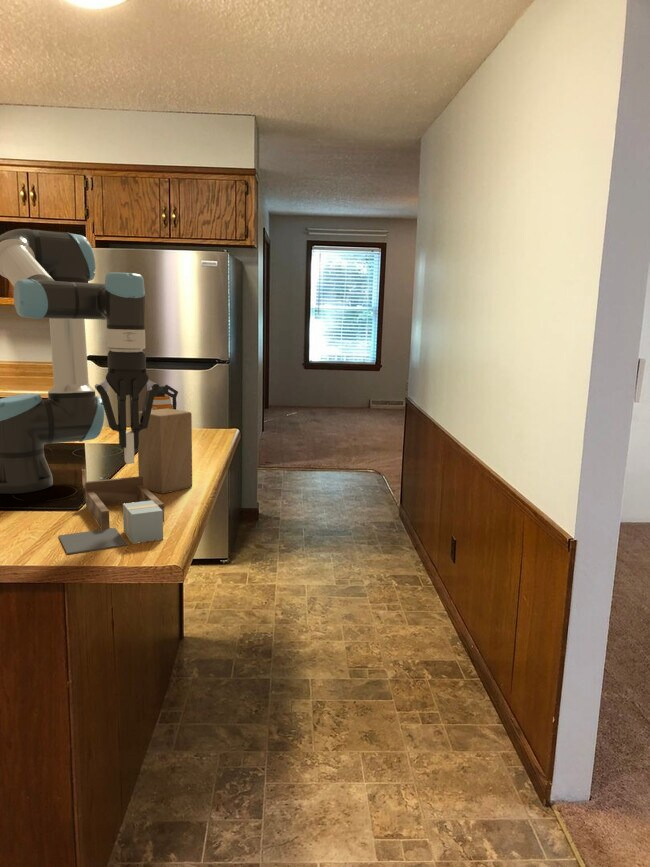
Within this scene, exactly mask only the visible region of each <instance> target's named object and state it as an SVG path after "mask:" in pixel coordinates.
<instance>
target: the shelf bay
mask: <svg viewBox="0 0 650 867" xmlns="http://www.w3.org/2000/svg"><path fill="white" fill-rule="evenodd" d="M84 490H85V507H86V509H87V510H88V512H89V513H90V515H91V516H92V517H93V519H94V520H95V522H96V523H97V524H98V526H99V528H100V527H101V528H100V530H102V529H109V528H111V527H110V526H111V525H110V509H108V507H109V506H116V505H117V504H118V505H123V503H132V502H142V501H151V500H152V501H153V502H154V503H155V504H157V505H158V506H159V508H161V509H162V510H163V523H164V522H165V503H164V502H162V501H161V500H160V499H159V498H158V497H157V496H156V495H154V494H153V492H152V491H151V490H148V489H147V488H146V487H145V486H143V477H142V476H139V475H138V476H130V477H120V478H119V477H118V478H111V479H109V478H108V479H100V480H91V481H90V480H89V481H85V482H84Z"/></svg>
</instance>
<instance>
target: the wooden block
mask: <svg viewBox="0 0 650 867" xmlns="http://www.w3.org/2000/svg"><path fill="white" fill-rule="evenodd" d="M141 415H142V410H141V411H139V423H140V419H141ZM192 418H193V416H192V412H191V411H184V410H180V409H176V410H175V409H173V408H172V409H169V408H167V409H157V410H151V414H150V418H149V423H148V427H147V428H146V429H142V430H140V431H139V445H138V447H137V461H138V463H137V466H138V476H142V477H143V486H145V487H146V488H147V489H148V490H149V491H150V492H154V493H157V494H161V495H163V494H166V493H172V492H175V491H179V490H184V489H190V488H192V487H193V439H192V438H193V436H192V435H193V433H192V431H193V429H192V428H193V427H192V426H193V424H192V423H193V421H192Z"/></svg>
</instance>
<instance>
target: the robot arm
mask: <svg viewBox="0 0 650 867" xmlns="http://www.w3.org/2000/svg"><path fill="white" fill-rule="evenodd" d="M0 276H2V277H3V278H5V279H7V280H8V282H10V284H11V286H12V287H13V305H14V308H15V312H16V314H17V315H18V316H20V317H22V318H29V319H30V318H31V319H35V320H39V319H41V320H42V319H49V332H50V334H49V335H50V345H51V346H50V347H51V362H52V378H53V386H52V387H51V388H50V389H49V390H48V391H47V392H48V393H47V397H48V398H47V399H46V398H45V399H43V398H42V396H41V395H40V394H39V393H28V394H26V393H25V394H18V395H10V396H5V397H1V398H0V494H12V495H13V494H24V493H33V492H37V491H42V490H45V489H48V488H50V487H52V486H53V484H54V480H53V474H52V471H51V469H50V467H49V464H48V461H47V460H46V457H45V449H44V448H45V447H44V446H45V445H50V444H63V443H73V442H79V443H82V442H84V441H85V442H86V441H92V440H95V439H97V438H98V437H99V436H100V434H101V432H102V430H103V427H104V420H105V416H106V418H107V419H106V420H107V422H108V423H107V424H108V427H109V428H110V429H111V430H112V431H114V432H118V444H119V446H120V448H121V449H123V452H124V462H125V464H127V465H128V464H129V465H130V464H135V448H138V445H139V431H140V430H142V429H146V428H147V427H148V423H149V418H150V414H151V409H152V405H153V400H154V396H155V394H156V392H157V391H158V389H159V386H160V384H158V383H157V382H153V380H151V379H150V378H149V375H148V374H147V362H146V361H147V354H146V352H145V351H143V350H144V349H146V290H145V281H144V280H145V279H144V277H143V275H141V274H140V273H139V274H138V273H135V272H134V273H133V272H118V271H117V272H107V273H106V275H105V279H104V280H105V281H104V282H105V283H95V282H94V283H93V282H91V281H92V280H94V278H95V277H96V259H95V253H94V250H93V248H92V245H91V242H90V241H89V240H88V239H87V237H85V236H84V235H82V234H76V233H70V232H67V231H66V232H64V231H62V232H61V231H52V230H51V231H50V230H41V229H30V228H16V229H12V230H8V231H5V232H4V233H2V234H0ZM85 320H103V321H106V342H107V343H106V346H107V349H109V350H108V352H107V374H106V375H105V380H103V381H101V382H100V383H96V384H95V385H94V387H92V386H91V385H90V383H89V382H90V381H89V370H88V368H89V367H88V354H87V353H88V352H87V339H86V337H87V336H86V323H85V322H86V321H85ZM145 386H146V387H145ZM109 387H110V388H111V389H112V390H113V391H114V393H115V394H116V399H117V420H116V417H115V414H114V411H113V408H112V407H113V405H112V403H111V400H110V397H109V394H108V392H109ZM94 388H95V389H94ZM144 388H145V390H147V391H146V393H145V397H144V402H143V407H142V410H141V411H142V415H141V419H140V423H139V410H140V409H139V401H140V396H139V394H140V393H141V392H142V390H144ZM96 391H97V393H98V394H99V395H100V396H98V395H96ZM127 396H129V403H130V404H129V407H130V408H129V410H130V414H129V415H130V430H127Z"/></svg>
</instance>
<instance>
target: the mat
mask: <svg viewBox="0 0 650 867" xmlns="http://www.w3.org/2000/svg"><path fill="white" fill-rule="evenodd" d="M58 538H59V540H60V543H61V545H62V547H63V549H64V552H65V553H66V555H74V554H75V555H76V554H80V553H88V552H94V551H100V550H106V549H113V547H115V548H121V547H127V545H128V543H127V541H126V540H125V538H124V537H123V536H122V535H121V533H120V532H119V530H117V528H116V527H110V528H109V529H95V530H88V531H87V530H86V531H81V532H73V533H67V534H66V533H65V534H58Z"/></svg>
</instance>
